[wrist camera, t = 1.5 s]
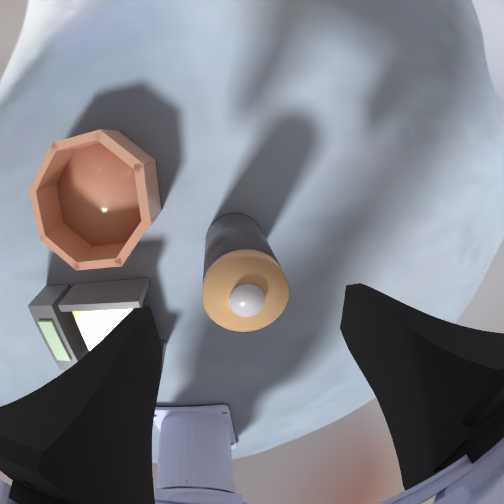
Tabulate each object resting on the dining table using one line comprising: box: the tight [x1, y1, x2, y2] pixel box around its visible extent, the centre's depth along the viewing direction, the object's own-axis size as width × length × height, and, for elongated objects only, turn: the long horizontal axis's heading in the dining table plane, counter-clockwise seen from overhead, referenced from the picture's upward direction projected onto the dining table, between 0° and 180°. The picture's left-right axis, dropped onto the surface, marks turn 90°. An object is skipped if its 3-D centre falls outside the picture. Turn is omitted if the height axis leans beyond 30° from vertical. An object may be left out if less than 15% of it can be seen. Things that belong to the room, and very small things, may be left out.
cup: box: [29, 129, 162, 271], centre depth 14 cm, size 8×8×3 cm
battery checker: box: [28, 278, 166, 370], centre depth 17 cm, size 6×9×3 cm, turn 93°
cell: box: [202, 213, 289, 332], centre depth 14 cm, size 4×4×7 cm
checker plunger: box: [72, 304, 143, 351], centre depth 17 cm, size 4×5×1 cm
